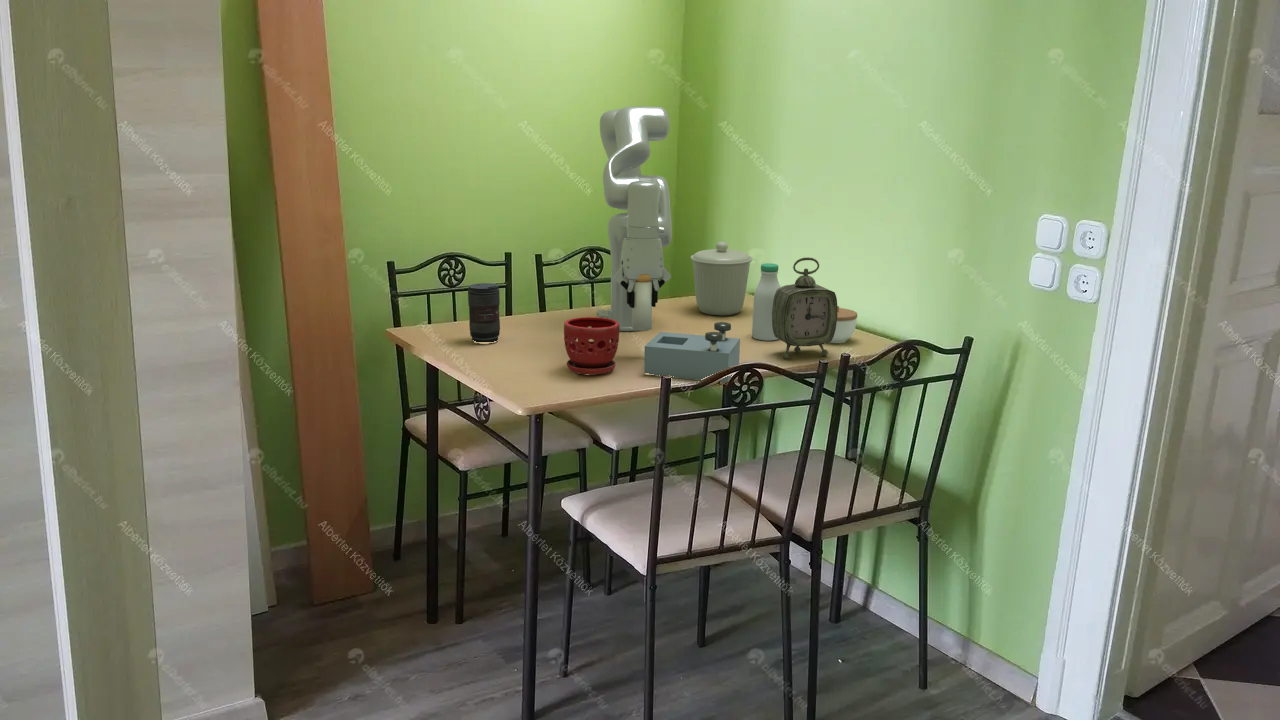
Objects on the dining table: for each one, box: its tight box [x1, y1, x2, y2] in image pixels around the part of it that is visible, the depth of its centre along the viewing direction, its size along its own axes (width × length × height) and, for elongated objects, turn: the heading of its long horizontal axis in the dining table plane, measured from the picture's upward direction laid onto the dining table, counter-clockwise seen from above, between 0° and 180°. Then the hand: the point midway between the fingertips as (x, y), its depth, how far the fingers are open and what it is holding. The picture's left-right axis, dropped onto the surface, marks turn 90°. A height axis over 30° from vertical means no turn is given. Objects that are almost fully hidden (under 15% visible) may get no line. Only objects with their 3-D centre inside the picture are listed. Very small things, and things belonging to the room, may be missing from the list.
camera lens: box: [467, 282, 501, 342], centre depth 261 cm, size 8×8×15 cm
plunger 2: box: [713, 321, 732, 341], centre depth 240 cm, size 4×4×7 cm
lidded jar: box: [828, 305, 858, 344], centre depth 266 cm, size 11×11×9 cm
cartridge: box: [632, 274, 653, 332], centre depth 246 cm, size 5×5×14 cm
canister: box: [690, 241, 753, 317], centre depth 294 cm, size 18×18×21 cm
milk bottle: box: [751, 262, 781, 342], centre depth 267 cm, size 8×8×20 cm
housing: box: [643, 331, 741, 384], centre depth 238 cm, size 20×14×7 cm
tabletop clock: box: [772, 257, 838, 360], centre depth 250 cm, size 14×9×25 cm, turn 106°
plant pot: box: [563, 316, 620, 376], centre depth 237 cm, size 13×13×12 cm
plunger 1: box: [705, 331, 723, 351], centre depth 231 cm, size 4×4×7 cm
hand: (642, 305), depth 247 cm, fingers closed on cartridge, 4 cm apart
